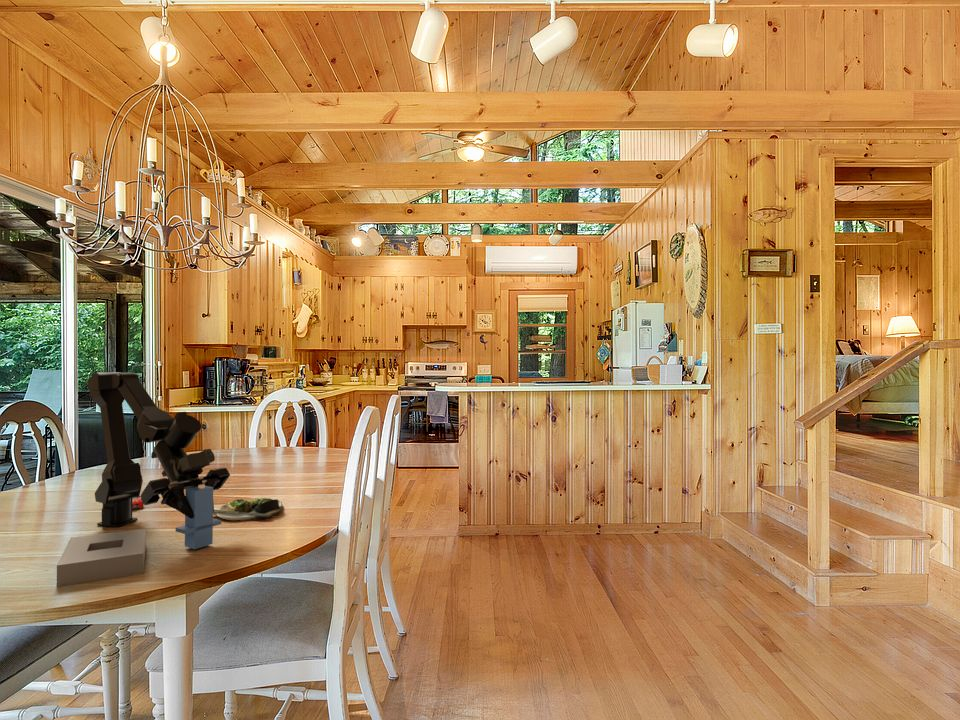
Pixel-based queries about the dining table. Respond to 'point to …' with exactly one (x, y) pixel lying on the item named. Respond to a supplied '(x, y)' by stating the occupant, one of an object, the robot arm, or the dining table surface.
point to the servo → (199, 517)
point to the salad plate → (249, 509)
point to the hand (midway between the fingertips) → (202, 514)
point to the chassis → (102, 557)
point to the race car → (137, 503)
